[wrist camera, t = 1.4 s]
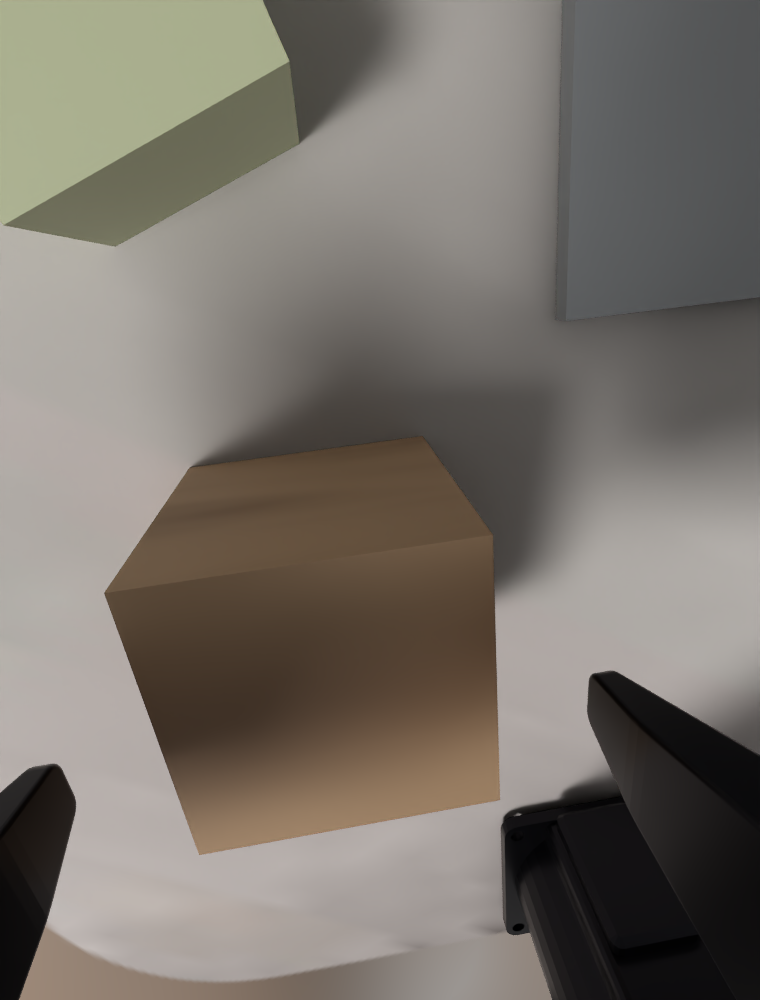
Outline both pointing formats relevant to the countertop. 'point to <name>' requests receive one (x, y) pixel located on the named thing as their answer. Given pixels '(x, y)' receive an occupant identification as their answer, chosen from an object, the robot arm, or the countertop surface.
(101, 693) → the countertop surface
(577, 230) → the slate coaster
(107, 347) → the countertop surface
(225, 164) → the olive block
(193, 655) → the walnut cube
